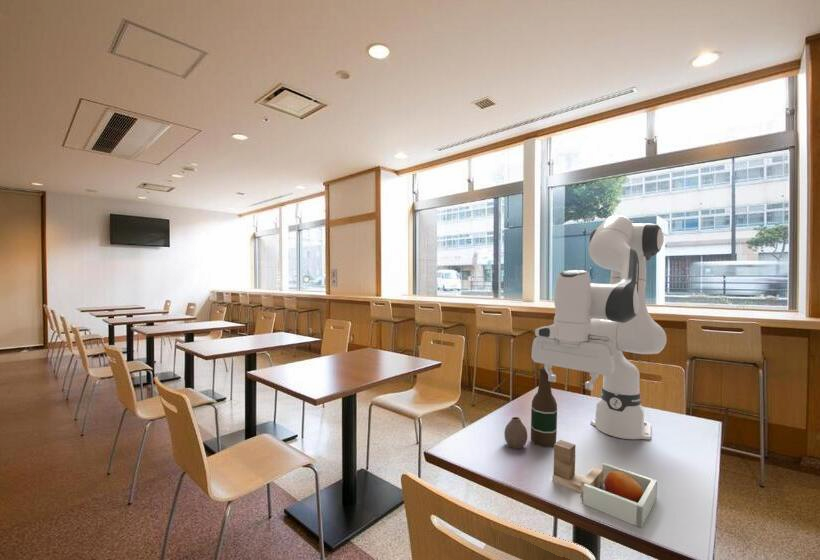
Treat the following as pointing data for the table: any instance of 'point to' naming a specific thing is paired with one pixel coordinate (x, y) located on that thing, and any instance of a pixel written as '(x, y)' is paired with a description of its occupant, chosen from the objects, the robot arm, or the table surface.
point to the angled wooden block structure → (572, 469)
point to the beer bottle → (544, 413)
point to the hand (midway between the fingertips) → (570, 385)
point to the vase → (515, 433)
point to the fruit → (623, 486)
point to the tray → (620, 505)
